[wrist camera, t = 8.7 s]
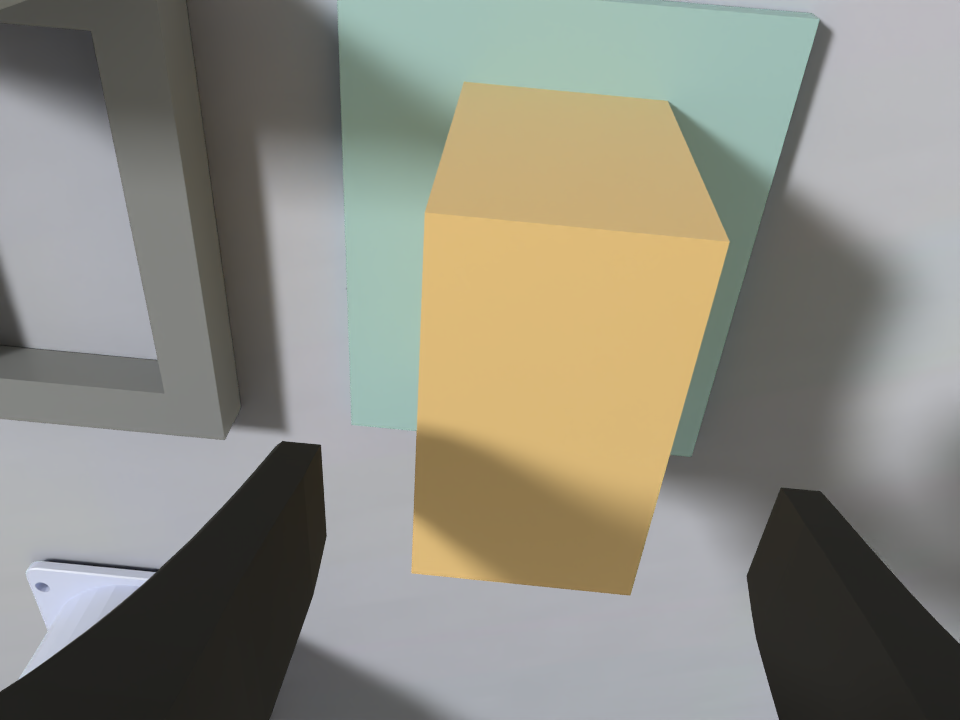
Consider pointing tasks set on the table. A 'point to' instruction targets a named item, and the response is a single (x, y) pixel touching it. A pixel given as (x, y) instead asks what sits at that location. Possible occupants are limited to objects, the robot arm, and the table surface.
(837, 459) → the table surface
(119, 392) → the grey angular piece
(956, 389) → the table surface
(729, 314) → the teal pad
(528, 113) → the orange rectangular block
